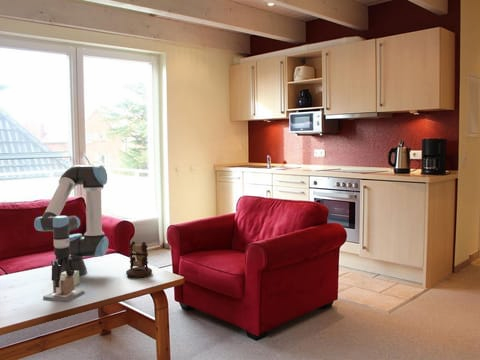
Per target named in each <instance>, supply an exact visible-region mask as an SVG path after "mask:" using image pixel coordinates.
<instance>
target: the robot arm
mask: <svg viewBox="0 0 480 360" xmlns="http://www.w3.org/2000/svg"><path fill="white" fill-rule="evenodd" d="M107 183H108V173H107V169H106V168H105V167H104V166H103V165H101V164H76V165H73V166H71V167H70V168H68V169H67V170H66V171H65V172H63V174H62V175H61V176H60V178H59V180H58V186H57V187H56V190H55V191H54V193H53V196H52V197H51V199H50V201H49V203H48V205H47V207H46V209H45V211H44V213H43V214H42V216H37V217H35V219H34V221H33V222H34V223H33V224H34V225H33V226H34V229H35V230H36V231H39V232H52V235H53V247H54V248H53V252H54V255H55V260H51V281H52V282H53V281H55V287H56V293H59V294H61V281H60V276H61V273H62V272H65V271H66V274H67V275H68V276H71V277H72V276H73V274H74V270H75V271H79V277H80V276H83V275H85V274H86V273H87V272H88V270H87V267H86V264H85V261H84V257H95V258H98V257H103V256H105V255H106V253H107V251H108V249H109V238H108V237H107V236H106V234H105V232H104V231H103V223H102V222H103V219H102V218H103V217H102V212H103V211H102V190H103V189H104V187H105V185H106V184H107ZM79 185H80V186H81V185H82V189H84V190H85V205H86V206H85V210H86V211H85V213H86V231H85V232H84V234H82V233H73V234H70V232H73V231H76V230H77V229H79V227H80V226H81V219H80V218H79V217H78V216H77V215H69V216H67V215H61V213H62V211H63V209H64V207H65V205H66V203H67V200H68V199H69V196H70V194H71V192H72V190H74V189H75V188H76V187H77V186H79ZM57 278H58V279H57Z"/></svg>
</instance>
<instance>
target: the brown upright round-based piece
mask: <svg viewBox="0 0 480 360" xmlns="http://www.w3.org/2000/svg"><path fill="white" fill-rule="evenodd" d="M148 246H149V245H147V244H146V241H143V242H142V243H141V244H140V243H136V242H135V240H134V241H131V244H129V246H128V247H129V253H128V254H129V255H128V256H129V259H130V260H129V264H130V266H129V267H130V268H129V269H127V270H126V271H125V274H126V276H127V278H129V277H142V279H144V277H145V276H149V275H151V274H152V273H153V269H152V268H151V267H148V264H149V261H148V256H149V253H148Z"/></svg>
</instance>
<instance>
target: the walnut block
mask: <svg viewBox="0 0 480 360" xmlns="http://www.w3.org/2000/svg"><path fill="white" fill-rule="evenodd" d="M57 279H58V278H57ZM60 281H61V294H67V293H69V292H71V291H73V290H74V289H75V285H74V277H71V276H60ZM52 287H53V288H52V290H53V291H52V292H53V293H56V287H55V281H52ZM58 294H59V293H58Z"/></svg>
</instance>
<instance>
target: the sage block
mask: <svg viewBox="0 0 480 360" xmlns="http://www.w3.org/2000/svg"><path fill="white" fill-rule="evenodd" d="M61 276H68V275H67V274H66V271H65V272H62V273H61ZM72 277H74V286H76V285H79V284H80V276H79V271H75V270H74V274H73V276H72Z"/></svg>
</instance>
